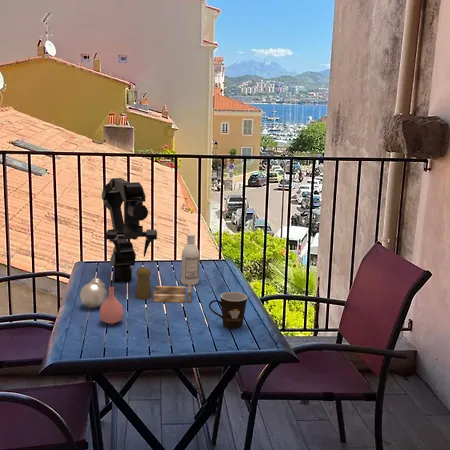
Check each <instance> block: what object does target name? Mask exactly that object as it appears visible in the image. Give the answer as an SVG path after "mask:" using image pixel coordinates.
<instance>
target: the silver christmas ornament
mask: <svg viewBox="0 0 450 450" xmlns="http://www.w3.org/2000/svg"><path fill="white" fill-rule="evenodd" d="M105 287H106V284H105V283H104V282H103V281H102V280H101V279H100V278H98V277H96V278H93V279H91V281H90V282H89V283H86V284H85V285H84V286H83V287H82V289H81V290H80V292H79V293H80V294H79V296H80V301H81V303H82V304H83V305H84V306H86V307H87V308H90V309H94V308H95V309H96V308H100V307H101V305H102V304H103V303H104V302H105V301H106V300H107V294H108V292H107V289H106V288H105Z"/></svg>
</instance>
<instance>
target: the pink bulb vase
mask: <svg viewBox="0 0 450 450" xmlns="http://www.w3.org/2000/svg"><path fill="white" fill-rule="evenodd" d="M124 313H125V312H124V306H123V304H122V303H121V302H120V301H119V300H118V299H117V297H116V295H115V287H114V286H109V287H108V295H107V297H106V299H105V301H104V303H103V304H102V305H101V306H99V314H98V315H99V317H100V320H101V321H102V322H103V323H106V324H108V325H114V324H115V323H119V322H121V321H122V319H123V317H124Z"/></svg>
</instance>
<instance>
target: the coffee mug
mask: <svg viewBox="0 0 450 450" xmlns="http://www.w3.org/2000/svg"><path fill="white" fill-rule="evenodd" d="M247 301H248V295H246V294H245V293H242V292H237V291H236V292H235V291H230V292H223V293H221V295H220V300H218V299H214V300H211V301H210V302H209V303H208V308H209V309H210V311H211V312H212V313H213V314H214V315H216V316H218V317H220V318H221V319H222V326H223V328H225V327H226V328H225V329H228V328H229V329H228V330H239V329H241V328H243V326H244V325H243V324H244V319H245V313H246V308H247V307H246V306H247ZM213 303H218V304H219V306H220V307H221V314H219V313H218V312H216V311H215V310H214V309H212V307H211V305H212V304H213ZM240 327H241V328H240ZM238 328H239V329H238Z"/></svg>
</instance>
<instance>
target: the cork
mask: <svg viewBox="0 0 450 450" xmlns="http://www.w3.org/2000/svg"><path fill="white" fill-rule="evenodd" d="M151 274H152V272H151V269H150V268H148V267H146V266H145V267H139V268H137V270H136V276H137V279H136V280H137V282H136V289H135V294H134V295H135V296H134V298H135V299H137V300H142V301H143V300H150V299H151V298H153V295H152V289H151V282H150V276H151Z"/></svg>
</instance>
